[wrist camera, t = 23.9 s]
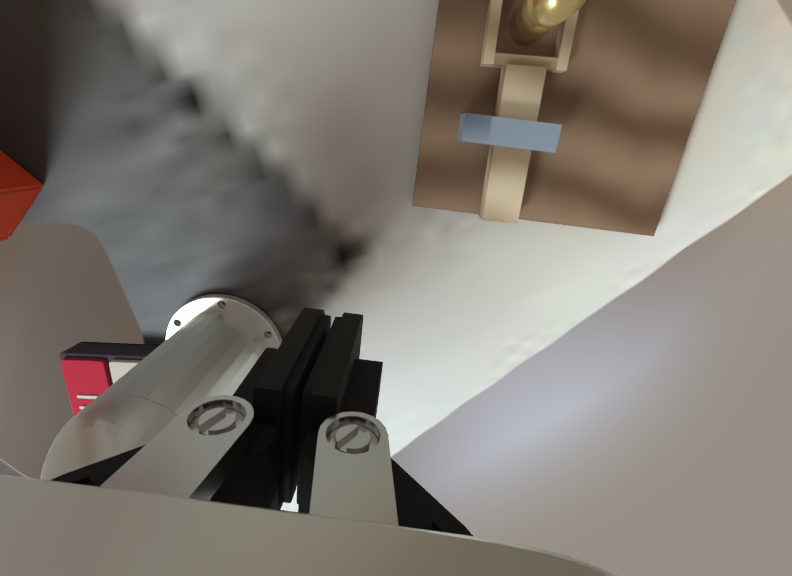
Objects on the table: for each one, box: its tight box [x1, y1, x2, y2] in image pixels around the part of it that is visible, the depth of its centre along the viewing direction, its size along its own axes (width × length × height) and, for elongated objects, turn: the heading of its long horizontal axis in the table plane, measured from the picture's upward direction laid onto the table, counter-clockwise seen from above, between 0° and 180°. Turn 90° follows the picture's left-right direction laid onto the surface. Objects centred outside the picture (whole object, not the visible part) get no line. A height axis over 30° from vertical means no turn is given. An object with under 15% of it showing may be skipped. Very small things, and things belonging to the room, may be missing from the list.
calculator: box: [60, 342, 158, 416], centre depth 47 cm, size 11×4×15 cm
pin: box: [509, 0, 586, 46], centre depth 28 cm, size 3×3×9 cm
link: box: [479, 0, 579, 223], centre depth 33 cm, size 18×6×2 cm, turn 175°
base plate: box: [412, 0, 736, 236], centre depth 35 cm, size 19×22×2 cm
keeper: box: [457, 113, 562, 153], centre depth 33 cm, size 2×7×4 cm, turn 83°
